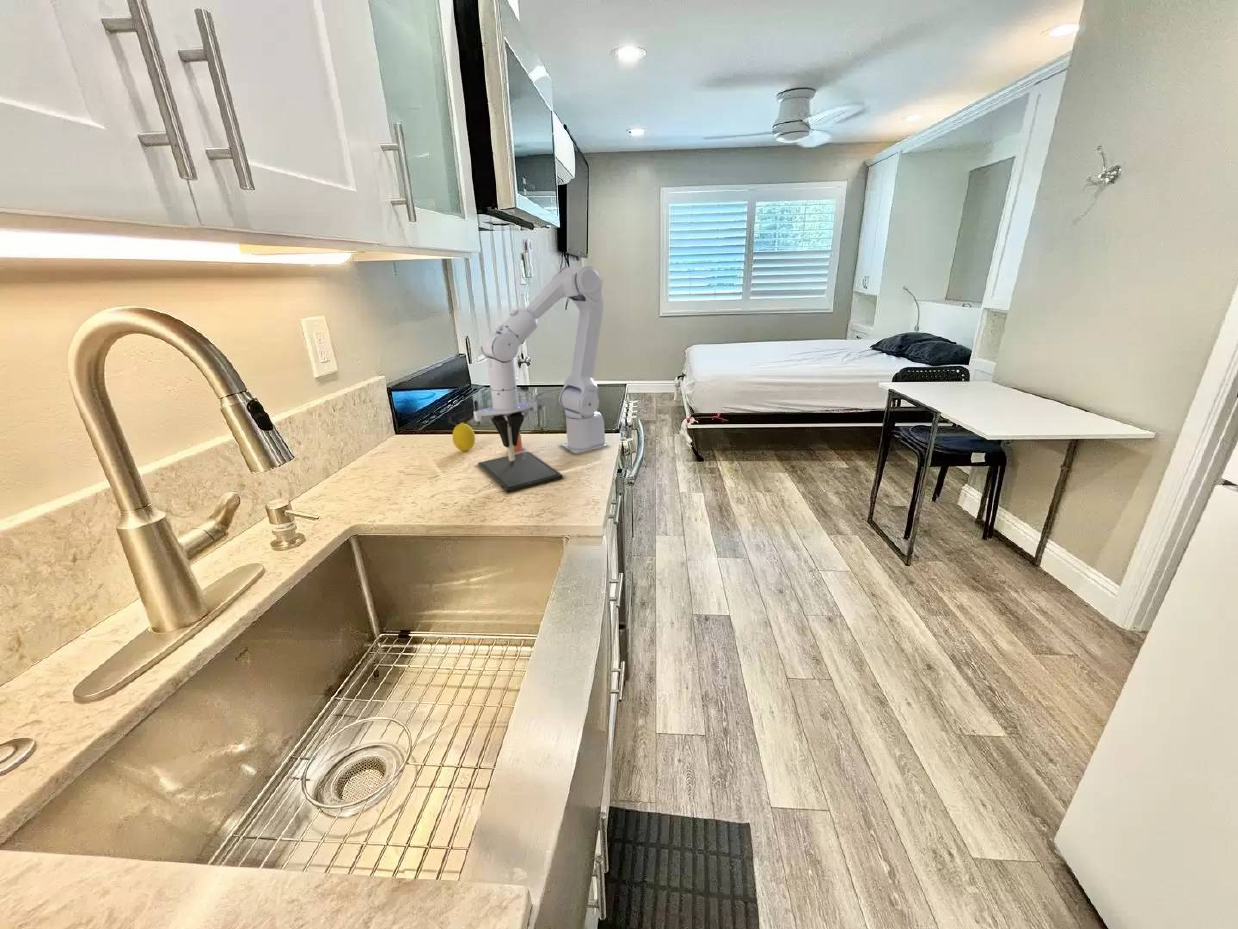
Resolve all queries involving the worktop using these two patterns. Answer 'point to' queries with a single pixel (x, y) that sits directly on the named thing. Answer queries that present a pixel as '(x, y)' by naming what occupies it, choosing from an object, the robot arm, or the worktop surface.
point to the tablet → (520, 471)
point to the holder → (518, 444)
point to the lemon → (463, 437)
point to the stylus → (510, 446)
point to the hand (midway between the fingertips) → (510, 445)
